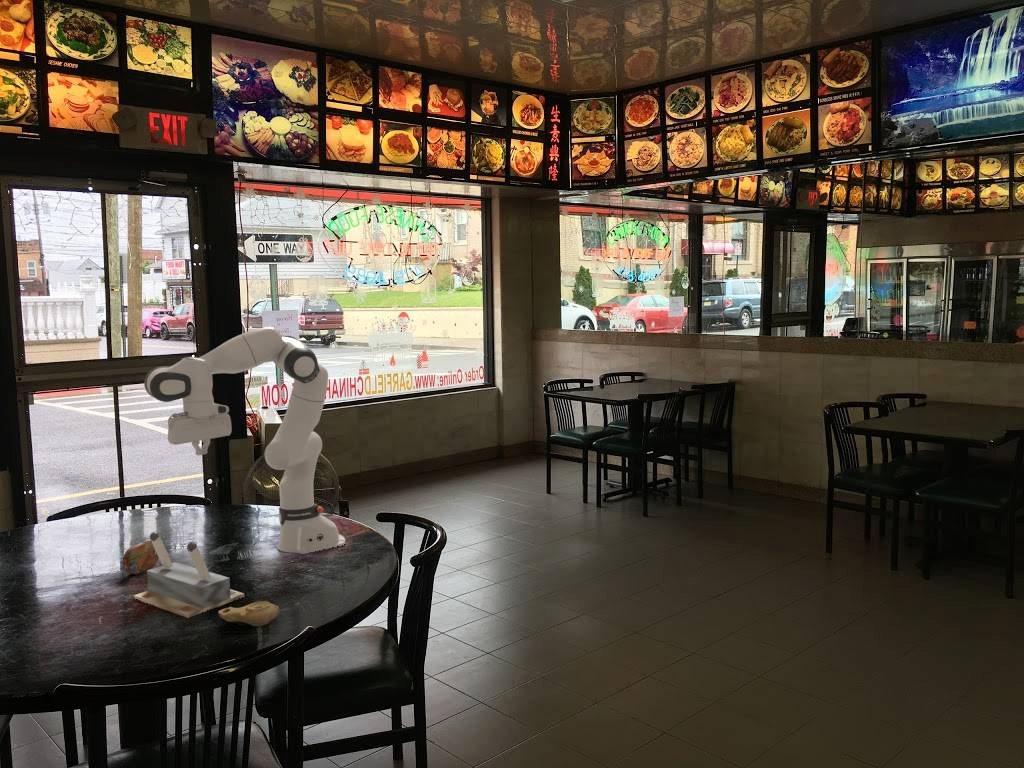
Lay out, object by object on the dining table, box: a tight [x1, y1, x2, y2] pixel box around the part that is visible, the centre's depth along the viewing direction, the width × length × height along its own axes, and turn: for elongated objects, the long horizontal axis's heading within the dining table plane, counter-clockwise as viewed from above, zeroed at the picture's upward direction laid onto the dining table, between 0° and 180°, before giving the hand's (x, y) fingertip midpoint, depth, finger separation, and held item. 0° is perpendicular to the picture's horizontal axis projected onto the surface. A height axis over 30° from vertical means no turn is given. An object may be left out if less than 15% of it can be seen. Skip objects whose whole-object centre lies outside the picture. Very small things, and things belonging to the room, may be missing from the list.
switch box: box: [133, 561, 245, 619], centre depth 237 cm, size 18×26×7 cm
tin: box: [122, 539, 160, 575], centre depth 262 cm, size 15×3×8 cm, turn 168°
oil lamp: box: [217, 600, 280, 627], centre depth 217 cm, size 11×14×5 cm
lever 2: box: [186, 541, 211, 580], centre depth 228 cm, size 3×3×12 cm
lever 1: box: [149, 531, 173, 568], centre depth 239 cm, size 3×3×12 cm
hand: (201, 454), depth 255 cm, fingers closed
